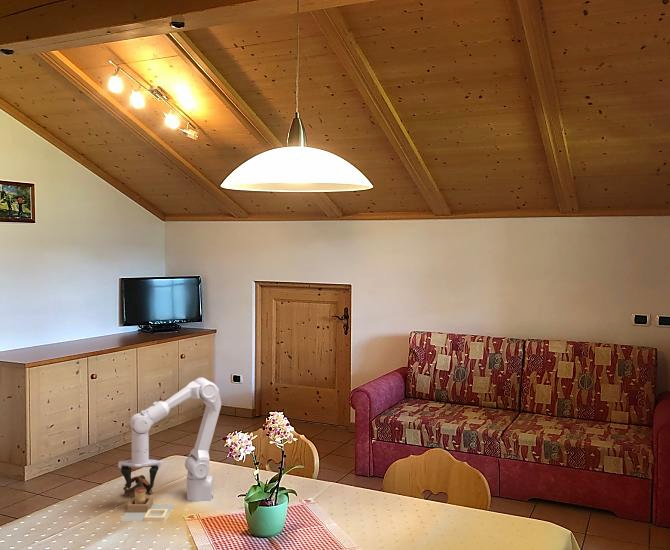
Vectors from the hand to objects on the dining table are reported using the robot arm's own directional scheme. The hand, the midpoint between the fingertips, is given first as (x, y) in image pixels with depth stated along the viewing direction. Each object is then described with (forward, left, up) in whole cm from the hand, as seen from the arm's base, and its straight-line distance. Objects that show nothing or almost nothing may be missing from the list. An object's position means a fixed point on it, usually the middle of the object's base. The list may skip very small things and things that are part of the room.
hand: (140, 487), depth 233 cm
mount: (-3, +4, -8) cm, 10 cm away
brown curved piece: (+4, -14, -9) cm, 17 cm away
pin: (0, 0, -7) cm, 7 cm away
